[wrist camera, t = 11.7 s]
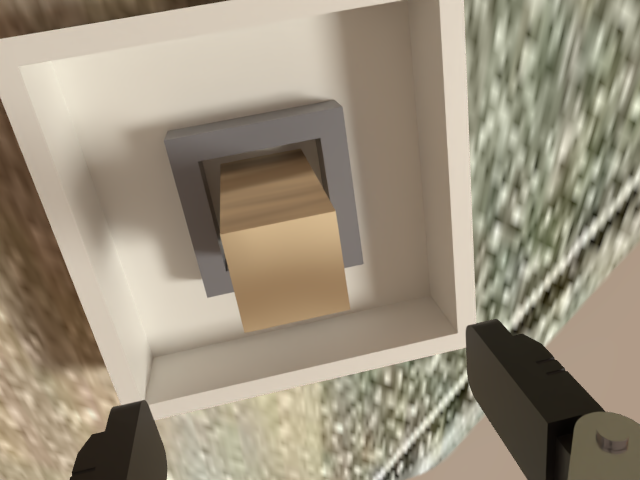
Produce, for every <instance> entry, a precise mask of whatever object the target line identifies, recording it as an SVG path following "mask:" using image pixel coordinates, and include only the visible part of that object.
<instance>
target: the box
mask: <svg viewBox="0 0 640 480" xmlns="http://www.w3.org/2000/svg"><path fill="white" fill-rule="evenodd" d="M0 98H1V100H2V103H3V106H4V108H5V111H6V113H7V116H8V118H9V121H10V123H11V126H12V128H13V131H14V134H15V136H16V139H17V141H18V144H19V146H20V149H21V151H22V154H23V156H24V159H25V162H26V164H27V167H28V169H29V172H30V174H31V177H32V179H33V182H34V184H35V187H36V190H37V192H38V195H39V197H40V200H41V202H42V205H43V207H44V210H45V212H46V215H47V218H48V220H49V223H50V225H51V228H52V230H53V233H54V235H55V238H56V240H57V243H58V246H59V248H60V251H61V253H62V256H63V258H64V261H65V263H66V266H67V268H68V271H69V274H70V276H71V279H72V281H73V284H74V286H75V289H76V291H77V294H78V296H79V299H80V302H81V304H82V307H83V309H84V312H85V314H86V317H87V319H88V322H89V324H90V327H91V330H92V332H93V335H94V337H95V340H96V342H97V345H98V347H99V350H100V352H101V355H102V358H103V360H104V363H105V365H106V368H107V370H108V373H109V375H110V378H111V380H112V383H113V386H114V388H115V391H116V393H117V396H118V398H119V401H120V403H121V405H124V404H128V403H133V402H137V401H141V400H145V401H146V402H147V403H148V405H149V408H150V410H151V413H152V416H153V419H154V420H159V419H163V418H167V417H171V416H176V415H180V414H184V413H188V412H193V411H197V410H201V409H206V408H210V407H214V406H218V405H223V404H227V403H231V402H235V401H240V400H244V399H248V398H252V397H257V396H261V395H265V394H269V393H274V392H278V391H282V390H287V389H291V388H295V387H299V386H304V385H308V384H312V383H316V382H321V381H325V380H329V379H333V378H338V377H342V376H346V375H351V374H355V373H359V372H363V371H368V370H372V369H376V368H380V367H385V366H389V365H393V364H397V363H402V362H406V361H410V360H414V359H419V358H423V357H427V356H432V355H436V354H440V353H444V352H449V351H453V350H457V349H461V348H466V327H467V326H468V325H472V324H476V306H475V280H474V254H473V228H472V202H471V176H470V150H469V124H468V98H467V72H466V46H465V20H464V0H229V1H223V2H217V3H211V4H205V5H199V6H193V7H188V8H182V9H176V10H170V11H164V12H158V13H152V14H146V15H140V16H134V17H128V18H122V19H116V20H110V21H104V22H98V23H92V24H86V25H80V26H74V27H68V28H63V29H57V30H51V31H45V32H39V33H33V34H27V35H21V36H15V37H9V38H3V39H0ZM296 149H301V150H302V151H303V153H304V155H305V157H306V159H307V160H308V162H309V164H310V166H311V168H312V169H313V171H314V173H315V175H316V177H317V178H318V180H319V182H320V184H321V186H322V187H323V189H324V191H325V193H326V194H327V196H328V198H329V200H330V202H331V203H332V205H333V207H334V209H335V211H336V216H337V223H338V229H339V236H340V243H341V250H342V256H343V263H344V270H345V277H346V283H347V290H348V297H349V303H350V310H347V311H342V312H338V313H333V314H329V315H324V316H320V317H315V318H311V319H306V320H302V321H297V322H293V323H288V324H284V325H279V326H275V327H270V328H266V329H261V330H256V331H252V332H247V333H244V329H243V325H242V321H241V317H240V313H239V309H238V305H237V301H236V297H235V293H234V289H233V285H232V281H231V277H230V273H229V269H228V265H227V261H226V257H225V253H224V249H223V245H222V241H221V237H220V164H223V163H228V162H233V161H238V160H244V159H249V158H254V157H259V156H264V155H270V154H275V153H280V152H285V151H290V150H296Z"/></svg>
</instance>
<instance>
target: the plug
mask: <svg viewBox="0 0 640 480" xmlns="http://www.w3.org/2000/svg"><path fill="white" fill-rule="evenodd" d="M220 237H221V241H222V245H223V249H224V253H225V257H226V261H227V265H228V269H229V273H230V277H231V281H232V285H233V289H234V293H235V297H236V301H237V305H238V309H239V313H240V317H241V321H242V325H243V329H244V333H247V332H252V331H256V330H261V329H266V328H270V327H275V326H279V325H284V324H288V323H293V322H297V321H302V320H306V319H311V318H315V317H320V316H324V315H329V314H333V313H338V312H342V311H347V310H350V303H349V297H348V290H347V283H346V277H345V270H344V263H343V256H342V250H341V243H340V236H339V229H338V223H337V216H336V211H335V209H334V207H333V205H332V203H331V202H330V200H329V198H328V196H327V194H326V193H325V191H324V189H323V187H322V186H321V184H320V182H319V180H318V178H317V177H316V175H315V173H314V171H313V169H312V168H311V166H310V164H309V162H308V160H307V159H306V157H305V155H304V153H303V151H302V150H301V149H296V150H290V151H285V152H280V153H275V154H270V155H264V156H259V157H254V158H249V159H244V160H238V161H233V162H228V163H223V164H220Z"/></svg>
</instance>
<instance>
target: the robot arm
mask: <svg viewBox="0 0 640 480" xmlns="http://www.w3.org/2000/svg"><path fill="white" fill-rule="evenodd" d="M466 356H467V375H468V381H469V385H470V388H471V391H472V393H473V395H474V397H475V399H476V401H477V402H478V404H479V405H480V407H481V408H482V410H483V412H484V413H485V415H486V416H487V418H488V419H489V421H490V422H491V424H492V425H493V427H494V428H495V430H496V432H497V433H498V435H499V436H500V438H501V439H502V441H503V442H504V444H505V445H506V447H507V449H508V450H509V452H510V453H511V454H512V456H513V458H514V459H515V461H516V462H517V464H518V465H519V467H520V469H521V470H522V472H523V473H524V475H525V476H526V478H527V479H528V480H640V424H638V423H637V422H635V421H634V420H632V419H630V418H628V417H625V416H623V415H620V414H616V413H612V412H605V411H604V410H603V408H602V407H601V406H600V405H599V404H598V403H597V402H596V401H595V400H594V399H593V398H592V397H591V396H590V395H589V394H588V393H587V392H586V390H585V389H584V388H583V387H582V386H581V385H580V384H579V383H578V382H577V381H576V380H575V379H574V378H573V377H572V376H571V375H570V374H569V372H568V371H565V368H564V367H563V366H562V365H561V364H560V363H559V362H558V361H557V360H555V359H554V357H553V356H552V354H551V353H550V352H549V351H548V350H547V349H546V348H545V347H544V346H543V345H542V344H541V343H539V342H537V341H535V340H533V339H531V338H530V337H528V336H526V335H524V334H519V335H515V336H512V335H511V333H510V332H509V331H508V330H507V329H506V328H505V327H504V326H503V324H502V323H501V322H500V321H499V320H497V319H493V320H489V321H485V322H480V323H476V324H472V325H468V326H467V327H466ZM166 479H167V460H166V453H165V449H164V446H163V443H162V440H161V438H160V435H159V432H158V429H157V427H156V424H155V421H154V419H153V416H152V413H151V410H150V408H149V405H148V403H147V402H146V401H145V400H141V401H137V402H133V403H128V404H124V405H120V406H115V407H113V408H112V409H111V411H110V414H109V418H108V422H107V426H106V429H105V432H101V433H96V434H92V435H91V437H90V438H89V439H88V441H87V442H86V443H85V445H84V446H83V447H82V449H81V450H80V451H79V453H78V455H77V458H76V461H75V464H74V467H73V471H72V477H70V480H166Z"/></svg>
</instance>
